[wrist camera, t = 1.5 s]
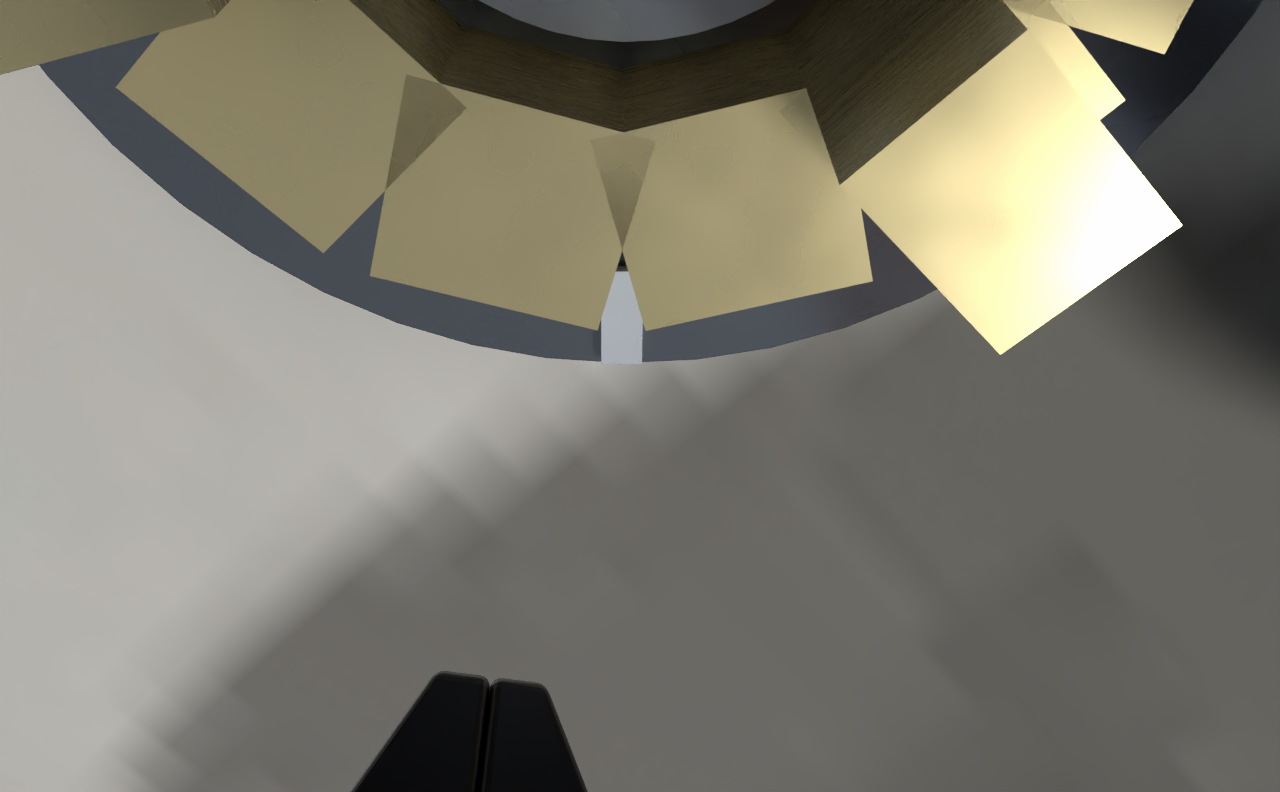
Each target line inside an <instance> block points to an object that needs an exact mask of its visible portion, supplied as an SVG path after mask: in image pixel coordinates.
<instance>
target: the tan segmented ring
mask: <svg viewBox="0 0 1280 792" xmlns="http://www.w3.org/2000/svg"><path fill="white" fill-rule="evenodd" d="M1192 2H1193V0H816V1H814V2H813V3H812V4H811V5H810V6H809V7H808V8H807V9H806V10H805V11H803V12H802V13H801V14H800V15H799V16H798V17H797V18H796V19H795V20H794V21H793V22H791V23H790V24H789V25H788V26H787V27H786V28H784V29H780V30H776V31H772V32H768V33H764V34H760V35H756V36H752V37H748V38H744V39H740V40H736V41H732V42H728V43H724V44H720V45H716V46H712V47H708V48H704V49H700V50H696V51H692V52H688V53H684V54H680V55H676V56H672V57H668V58H664V59H660V60H656V61H652V62H648V63H644V64H640V65H636V66H632V67H628V68H621V67H617V66H614V65H610V64H606V63H603V62H599V61H595V60H592V59H588V58H585V57H581V56H577V55H574V54H570V53H566V52H563V51H559V50H556V49H552V48H548V47H545V46H541V45H538V44H534V43H530V42H527V41H523V40H519V39H516V38H512V37H509V36H505V35H501V34H498V33H494V32H490V31H487V30H483V29H480V28H476V27H472V26H469V25H465V24H463V23H462V22H461V21H460V20H459V19H458V18H456V17H455V16H454V15H453V14H452V13H451V12H450V11H449V10H448V9H447V8H446V7H445V6H444V5H443V4H442V3H441V2H440V1H439V0H0V75H1V74H5V73H9V72H12V71H16V70H20V69H24V68H27V67H31V66H35V65H39V64H42V63H46V62H50V61H54V60H57V59H61V58H65V57H69V56H72V55H76V54H80V53H84V52H87V51H91V50H95V49H98V48H102V47H106V46H110V45H113V44H117V43H121V42H125V41H128V40H132V39H136V38H140V37H143V36H147V35H151V34H155V33H158V32H160V33H159V34H158V36H157V37H156V38H155V39H154V41H153V42H152V43H151V44H150V45H149V47H148V48H147V49H146V50H145V52H144V53H143V54H142V55H141V57H140V58H139V59H138V60H137V62H136V63H135V64H134V65H133V66H132V68H131V69H130V70H129V71H128V73H127V74H126V75H125V76H124V78H123V79H122V80H121V81H120V82H119V84H118V85H117V86H116V88H117V89H118V90H120V91H121V92H122V93H123V94H125V95H126V96H127V97H128V98H130V99H131V100H132V101H133V102H135V103H136V104H137V105H138V106H140V107H141V108H142V109H143V110H145V111H146V112H147V113H148V114H150V115H151V116H152V117H153V118H155V119H156V120H157V121H158V122H160V123H161V124H162V125H163V126H165V127H166V128H167V129H168V130H170V131H171V132H172V133H173V134H175V135H176V136H177V137H178V138H180V139H181V140H182V141H183V142H185V143H186V144H187V145H188V146H190V147H191V148H192V149H193V150H195V151H196V152H197V153H199V154H200V155H201V156H202V157H204V158H205V159H206V160H207V161H209V162H210V163H211V164H212V165H214V166H215V167H216V168H217V169H219V170H220V171H221V172H222V173H224V174H225V175H226V176H227V177H229V178H230V179H231V180H232V181H234V182H235V183H236V184H237V185H239V186H240V187H241V188H242V189H244V190H245V191H246V192H247V193H249V194H250V195H251V196H252V197H254V198H255V199H256V200H257V201H259V202H260V203H261V204H262V205H264V206H265V207H266V208H267V209H269V210H270V211H271V212H272V213H274V214H275V215H276V216H277V217H279V218H280V219H281V220H282V221H284V222H285V223H286V224H287V225H289V226H290V227H291V228H292V229H294V230H295V231H296V232H297V233H299V234H300V235H301V236H302V237H304V238H305V239H306V240H307V241H309V242H310V243H311V244H312V245H314V246H315V247H316V248H318V249H319V250H320V251H321V252H323V253H324V252H325V251H326V250H327V249H328V248H329V247H330V246H331V245H332V244H333V243H334V242H335V241H336V240H337V239H338V238H339V237H340V236H341V235H342V234H343V233H344V232H345V231H346V230H347V229H348V228H349V227H350V226H351V225H352V224H353V223H354V222H355V221H356V220H357V219H358V218H359V217H360V216H361V215H362V214H363V213H364V212H365V211H366V210H367V209H368V208H369V207H370V206H371V205H372V203H373V202H374V201H375V200H376V199H377V198H378V197H379V196H380V195H381V194H382V193H383V192H384V191H385V194H384V200H383V205H382V211H381V216H380V222H379V227H378V233H377V238H376V244H375V250H374V255H373V261H372V266H371V272H370V276H372V277H377V278H381V279H385V280H389V281H393V282H397V283H402V284H406V285H410V286H414V287H418V288H422V289H427V290H431V291H435V292H439V293H443V294H447V295H452V296H456V297H460V298H464V299H468V300H472V301H477V302H481V303H485V304H489V305H493V306H497V307H502V308H506V309H510V310H514V311H518V312H522V313H527V314H531V315H535V316H539V317H543V318H547V319H552V320H556V321H560V322H564V323H568V324H572V325H577V326H581V327H585V328H589V329H593V330H597V331H598V328H599V324H600V321H601V318H602V315H603V311H604V308H605V305H606V302H607V298H608V295H609V292H610V289H611V285H612V282H613V279H614V276H615V272H616V269H617V266H618V263H619V259H620V256H621V253H622V251H623V255H624V258H625V262H626V265H627V268H628V272H629V275H630V279H631V282H632V286H633V289H634V293H635V296H636V299H637V303H638V306H639V310H640V313H641V317H642V320H643V324H644V327H645V330H646V331H648V330H653V329H657V328H662V327H666V326H671V325H675V324H680V323H685V322H689V321H694V320H698V319H703V318H707V317H712V316H716V315H721V314H726V313H730V312H735V311H739V310H744V309H748V308H753V307H758V306H762V305H767V304H771V303H776V302H780V301H785V300H790V299H794V298H799V297H803V296H808V295H812V294H817V293H821V292H826V291H831V290H835V289H840V288H844V287H849V286H853V285H858V284H863V283H867V282H872V281H873V279H872V273H871V267H870V260H869V254H868V248H867V242H866V236H865V230H864V224H863V217H862V211H861V208H862V209H863V211H864V212H865V213H866V214H867V215H868V216H869V217H870V218H871V219H872V220H873V221H874V222H875V223H876V224H877V225H878V226H879V227H880V228H881V229H882V231H883V232H884V233H885V234H886V235H887V236H888V237H889V238H890V239H891V240H892V241H893V242H894V243H895V244H896V245H897V246H898V247H899V248H900V250H901V251H902V252H903V253H904V254H905V255H906V256H907V257H908V258H909V259H910V260H911V261H912V262H913V263H914V264H915V265H916V266H917V267H918V268H919V270H920V271H921V272H922V273H923V274H924V275H925V276H926V277H927V278H928V279H929V280H930V281H931V282H932V283H933V284H934V285H935V286H936V287H937V289H938V290H939V291H940V292H941V293H942V294H943V295H944V296H945V297H946V298H947V299H948V300H949V301H950V302H951V303H952V304H953V305H954V306H955V307H956V309H957V310H958V311H959V312H960V313H961V314H962V315H963V316H964V317H965V318H966V319H967V320H968V321H969V322H970V323H971V324H972V325H973V326H974V328H975V329H976V330H977V331H978V332H979V333H980V334H981V335H982V336H983V337H984V338H985V339H986V340H987V341H988V342H989V343H990V344H991V345H992V347H993V348H994V349H995V350H996V351H997V352H998V353H999V354H1000V355H1001V354H1002V353H1004V352H1005V351H1007V350H1008V349H1009V348H1011V347H1012V346H1014V345H1015V344H1016V343H1018V342H1019V341H1021V340H1022V339H1023V338H1025V337H1026V336H1028V335H1029V334H1030V333H1032V332H1033V331H1035V330H1036V329H1038V328H1039V327H1040V326H1042V325H1043V324H1045V323H1046V322H1047V321H1049V320H1050V319H1052V318H1053V317H1054V316H1056V315H1057V314H1059V313H1060V312H1061V311H1063V310H1064V309H1066V308H1067V307H1068V306H1070V305H1071V304H1073V303H1074V302H1075V301H1077V300H1078V299H1080V298H1081V297H1082V296H1084V295H1085V294H1087V293H1088V292H1090V291H1091V290H1092V289H1094V288H1095V287H1097V286H1098V285H1099V284H1101V283H1102V282H1104V281H1105V280H1106V279H1108V278H1109V277H1111V276H1112V275H1113V274H1115V273H1116V272H1118V271H1119V270H1120V269H1122V268H1123V267H1125V266H1126V265H1127V264H1129V263H1130V262H1132V261H1133V260H1134V259H1136V258H1137V257H1139V256H1140V255H1142V254H1143V253H1144V252H1146V251H1147V250H1149V249H1150V248H1151V247H1153V246H1154V245H1156V244H1157V243H1158V242H1160V241H1161V240H1163V239H1164V238H1165V237H1167V236H1168V235H1170V234H1171V233H1172V232H1174V231H1175V230H1177V229H1178V228H1179V227H1181V226H1182V224H1181V222H1180V221H1179V220H1178V219H1177V217H1176V216H1175V215H1174V214H1173V212H1172V211H1171V210H1170V209H1169V207H1168V206H1167V205H1166V203H1165V202H1164V201H1163V200H1162V198H1161V197H1160V196H1159V195H1158V193H1157V192H1156V191H1155V190H1154V188H1153V187H1152V186H1151V185H1150V183H1149V182H1148V181H1147V179H1146V178H1145V177H1144V176H1143V174H1142V173H1141V172H1140V171H1139V169H1138V168H1137V167H1136V166H1135V164H1134V163H1133V162H1132V160H1131V159H1130V158H1129V157H1128V155H1127V154H1126V153H1125V152H1124V150H1123V149H1122V148H1121V147H1120V145H1119V144H1118V143H1117V142H1116V140H1115V139H1114V138H1113V136H1112V135H1111V134H1110V133H1109V131H1108V130H1107V129H1106V128H1105V126H1104V125H1103V124H1102V123H1101V121H1100V120H1101V119H1102V118H1103V117H1104V116H1106V115H1107V114H1108V113H1110V112H1111V111H1112V110H1114V109H1115V108H1116V107H1117V106H1119V105H1120V104H1121V103H1123V102H1124V101H1125V99H1124V97H1123V96H1122V95H1121V93H1120V92H1119V91H1118V90H1117V88H1116V87H1115V86H1114V84H1113V83H1112V82H1111V80H1110V79H1109V78H1108V77H1107V75H1106V74H1105V73H1104V71H1103V70H1102V69H1101V67H1100V66H1099V65H1098V64H1097V62H1096V61H1095V60H1094V58H1093V57H1092V56H1091V54H1090V53H1089V52H1088V51H1087V49H1086V48H1085V47H1084V45H1083V44H1082V43H1081V41H1080V40H1079V39H1078V38H1077V36H1076V35H1075V34H1074V32H1073V31H1072V30H1071V29H1070V27H1069V26H1072V27H1075V28H1078V29H1082V30H1085V31H1088V32H1092V33H1095V34H1098V35H1102V36H1105V37H1108V38H1112V39H1115V40H1118V41H1122V42H1125V43H1128V44H1132V45H1135V46H1138V47H1142V48H1145V49H1148V50H1152V51H1155V52H1158V53H1162V54H1165V53H1166V51H1167V49H1168V47H1169V45H1170V43H1171V41H1172V39H1173V38H1174V36H1175V34H1176V32H1177V30H1178V28H1179V26H1180V24H1181V23H1182V21H1183V19H1184V17H1185V15H1186V13H1187V11H1188V9H1189V8H1190V6H1191V4H1192Z"/></svg>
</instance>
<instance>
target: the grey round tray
mask: <svg viewBox="0 0 1280 792" xmlns="http://www.w3.org/2000/svg"><path fill="white" fill-rule="evenodd" d="M439 1H440V2H441V3H442V4H443V5H444V6H445V7H446V8H447V9H448V10H449V11H450V12H451V13H452V14H453V15H454V16H455V17H456V18H458V19H459V20H460V21H461V22H462V23H463V24H465V25H469V26H472V27H476V28H480V29H483V30H487V31H490V32H494V33H498V34H501V35H505V36H509V37H512V38H516V39H519V40H523V41H527V42H530V43H534V44H538V45H541V46H545V47H548V48H552V49H556V50H559V51H563V52H566V53H570V54H574V55H577V56H581V57H585V58H588V59H592V60H595V61H599V62H603V63H606V64H610V65H614V66H617V67H621V68H628V67H632V66H636V65H640V64H644V63H648V62H652V61H656V60H660V59H664V58H668V57H672V56H676V55H680V54H684V53H688V52H692V51H696V50H700V49H704V48H708V47H712V46H716V45H720V44H724V43H728V42H732V41H736V40H740V39H744V38H748V37H752V36H756V35H760V34H764V33H768V32H772V31H776V30H780V29H784V28H786V27H787V26H788V25H789V24H790V23H791V22H793V21H794V20H795V19H796V18H797V17H798V16H799V15H800V14H801V13H802V12H803V11H805V10H806V9H807V8H808V7H809V6H810V5H811V4H812V3H813V2H814V1H816V0H439ZM1261 2H1262V0H1193V2H1192V4H1191V6H1190V8H1189V9H1188V11H1187V13H1186V15H1185V17H1184V19H1183V21H1182V23H1181V24H1180V26H1179V28H1178V30H1177V32H1176V34H1175V36H1174V38H1173V39H1172V41H1171V43H1170V45H1169V47H1168V49H1167V51H1166V53H1165V54H1162V53H1158V52H1155V51H1152V50H1148V49H1145V48H1142V47H1138V46H1135V45H1132V44H1128V43H1125V42H1122V41H1118V40H1115V39H1112V38H1108V37H1105V36H1102V35H1098V34H1095V33H1092V32H1088V31H1085V30H1082V29H1078V28H1075V27H1072V26H1069V27H1070V29H1071V30H1072V31H1073V32H1074V34H1075V35H1076V36H1077V38H1078V39H1079V40H1080V41H1081V43H1082V44H1083V45H1084V47H1085V48H1086V49H1087V51H1088V52H1089V53H1090V54H1091V56H1092V57H1093V58H1094V60H1095V61H1096V62H1097V64H1098V65H1099V66H1100V67H1101V69H1102V70H1103V71H1104V73H1105V74H1106V75H1107V77H1108V78H1109V79H1110V80H1111V82H1112V83H1113V84H1114V86H1115V87H1116V88H1117V90H1118V91H1119V92H1120V93H1121V95H1122V96H1123V97H1124V99H1125V101H1124V102H1123V103H1121V104H1120V105H1119V106H1117V107H1116V108H1115V109H1114V110H1112V111H1111V112H1110V113H1108V114H1107V115H1106V116H1104V117H1103V118H1102V119H1101V120H1100V121H1101V123H1102V124H1103V125H1104V126H1105V128H1106V129H1107V130H1108V131H1109V133H1110V134H1111V135H1112V136H1113V138H1114V139H1115V140H1116V142H1117V143H1118V144H1119V145H1120V147H1121V148H1122V149H1123V150H1124V152H1125V153H1126V154H1127V155H1128V157H1129V156H1130V155H1131V154H1132V153H1133V152H1134V151H1135V150H1136V149H1137V148H1138V147H1139V146H1140V145H1141V144H1142V143H1143V142H1144V141H1145V140H1146V139H1147V138H1148V137H1149V136H1150V135H1151V134H1152V132H1153V131H1154V130H1155V129H1156V128H1157V127H1158V126H1159V125H1160V124H1161V123H1162V122H1163V121H1164V120H1165V119H1166V118H1167V117H1168V116H1169V115H1170V114H1171V113H1172V112H1173V111H1174V110H1175V109H1176V108H1177V107H1178V106H1179V105H1180V104H1181V103H1182V102H1183V101H1184V100H1185V99H1186V98H1187V97H1188V95H1189V94H1190V93H1191V92H1192V91H1193V90H1194V89H1195V88H1196V86H1197V85H1198V84H1199V83H1200V81H1201V80H1202V79H1203V77H1204V76H1205V75H1206V74H1207V72H1208V71H1209V70H1210V69H1211V67H1212V66H1213V65H1214V64H1215V62H1216V61H1217V60H1218V58H1219V57H1220V56H1221V55H1222V53H1223V52H1224V51H1225V50H1226V48H1227V47H1228V46H1229V45H1230V43H1231V42H1232V41H1233V39H1234V38H1235V37H1236V36H1237V34H1238V33H1239V32H1240V31H1241V29H1242V28H1243V27H1244V26H1245V24H1246V23H1247V22H1248V20H1249V19H1250V18H1251V17H1252V15H1253V14H1254V13H1255V11H1256V9H1257V8H1258V6H1259V5H1260V3H1261ZM159 33H160V32H158V33H155V34H151V35H147V36H143V37H140V38H136V39H132V40H128V41H125V42H121V43H117V44H113V45H110V46H106V47H102V48H98V49H95V50H91V51H87V52H84V53H80V54H76V55H72V56H69V57H65V58H61V59H57V60H54V61H50V62H46V63H42V64H39V65H40V67H41V68H42V69H43V71H44V72H45V73H46V75H47V76H48V77H49V78H50V79H51V80H52V81H53V82H54V83H55V84H56V86H57V87H58V88H59V89H60V90H61V91H62V92H63V93H64V94H65V95H66V96H67V97H68V98H69V99H70V100H71V101H72V102H73V103H74V105H75V106H76V107H77V108H78V109H79V110H80V111H81V112H82V113H83V114H84V115H85V116H86V117H87V118H88V119H89V120H90V121H91V123H92V124H93V125H94V126H95V127H96V128H97V129H98V130H99V131H100V132H101V133H102V134H103V135H104V136H105V137H106V138H107V139H108V141H109V142H110V143H111V144H112V145H113V146H114V147H116V148H117V149H118V150H119V151H120V152H121V153H123V154H124V155H125V156H126V157H127V158H128V159H129V160H131V161H132V162H133V163H134V164H135V165H136V166H138V167H139V168H140V169H141V170H142V171H143V172H145V173H146V174H147V175H148V176H149V177H150V178H152V179H153V180H154V181H155V182H156V183H157V184H159V185H160V186H161V187H162V188H163V189H164V190H166V191H167V192H168V193H169V194H170V195H171V196H172V197H174V198H175V199H176V200H177V201H178V202H179V203H181V204H182V205H183V206H185V207H186V208H188V209H189V210H191V211H192V212H193V213H195V214H196V215H198V216H199V217H201V218H202V219H204V220H205V221H206V222H208V223H209V224H211V225H212V226H214V227H215V228H217V229H218V230H219V231H221V232H222V233H224V234H225V235H227V236H228V237H229V238H231V239H232V240H234V241H235V242H237V243H238V244H240V245H241V246H242V247H244V248H245V249H247V250H248V251H250V252H251V253H253V254H255V255H256V256H258V257H260V258H262V259H264V260H266V261H267V262H269V263H271V264H273V265H275V266H277V267H278V268H280V269H282V270H284V271H286V272H288V273H289V274H291V275H293V276H295V277H297V278H298V279H300V280H302V281H304V282H306V283H308V284H309V285H311V286H313V287H315V288H317V289H319V290H320V291H322V292H324V293H327V294H329V295H331V296H334V297H336V298H339V299H341V300H343V301H346V302H348V303H351V304H353V305H355V306H358V307H360V308H363V309H365V310H368V311H370V312H372V313H375V314H377V315H380V316H382V317H384V318H387V319H389V320H392V321H394V322H396V323H399V324H403V325H406V326H410V327H413V328H416V329H420V330H423V331H427V332H430V333H434V334H437V335H440V336H444V337H447V338H451V339H454V340H457V341H461V342H464V343H468V344H471V345H476V346H482V347H488V348H493V349H499V350H505V351H510V352H516V353H521V354H527V355H533V356H538V357H544V358H555V359H570V360H586V361H601V364H642V362H651V361H673V360H695V359H703V358H709V357H715V356H722V355H728V354H734V353H741V352H747V351H753V350H760V349H766V348H772V347H776V346H779V345H783V344H787V343H790V342H794V341H798V340H801V339H805V338H809V337H812V336H816V335H820V334H823V333H827V332H831V331H834V330H838V329H842V328H845V327H848V326H850V325H853V324H856V323H858V322H861V321H863V320H866V319H868V318H871V317H873V316H876V315H878V314H881V313H883V312H886V311H889V310H891V309H894V308H896V307H899V306H901V305H904V304H906V303H909V302H911V301H914V300H916V299H919V298H921V297H923V296H925V295H927V294H928V293H930V292H932V291H934V290H936V289H937V287H936V286H935V285H934V284H933V283H932V282H931V281H930V280H929V279H928V278H927V277H926V276H925V275H924V274H923V273H922V272H921V271H920V270H919V268H918V267H917V266H916V265H915V264H914V263H913V262H912V261H911V260H910V259H909V258H908V257H907V256H906V255H905V254H904V253H903V252H902V251H901V250H900V248H899V247H898V246H897V245H896V244H895V243H894V242H893V241H892V240H891V239H890V238H889V237H888V236H887V235H886V234H885V233H884V232H883V231H882V229H881V228H880V227H879V226H878V225H877V224H876V223H875V222H874V221H873V220H872V219H871V218H870V217H869V216H868V215H867V214H866V213H865V212H864V211H863V209H862V208H861V211H862V217H863V224H864V230H865V236H866V242H867V248H868V254H869V260H870V267H871V273H872V279H873V281H872V282H867V283H863V284H858V285H853V286H849V287H844V288H840V289H835V290H831V291H826V292H821V293H817V294H812V295H808V296H803V297H799V298H794V299H790V300H785V301H780V302H776V303H771V304H767V305H762V306H758V307H753V308H748V309H744V310H739V311H735V312H730V313H726V314H721V315H716V316H712V317H707V318H703V319H698V320H694V321H689V322H685V323H680V324H675V325H671V326H666V327H662V328H657V329H653V330H648V331H646V330H645V327H644V324H643V320H642V317H641V313H640V310H639V306H638V303H637V299H636V296H635V293H634V289H633V286H632V282H631V279H630V275H629V272H628V268H627V265H626V262H625V258H624V255H623V251H622V253H621V256H620V259H619V263H618V266H617V269H616V272H615V276H614V279H613V282H612V285H611V289H610V292H609V295H608V298H607V302H606V305H605V308H604V311H603V315H602V318H601V321H600V324H599V328H598V331H597V330H593V329H589V328H585V327H581V326H577V325H572V324H568V323H564V322H560V321H556V320H552V319H547V318H543V317H539V316H535V315H531V314H527V313H522V312H518V311H514V310H510V309H506V308H502V307H497V306H493V305H489V304H485V303H481V302H477V301H472V300H468V299H464V298H460V297H456V296H452V295H447V294H443V293H439V292H435V291H431V290H427V289H422V288H418V287H414V286H410V285H406V284H402V283H397V282H393V281H389V280H385V279H381V278H377V277H372V276H370V272H371V266H372V261H373V255H374V250H375V244H376V238H377V233H378V227H379V222H380V216H381V211H382V205H383V200H384V194H385V191H384V192H383V193H382V194H381V195H380V196H379V197H378V198H377V199H376V200H375V201H374V202H373V203H372V205H371V206H370V207H369V208H368V209H367V210H366V211H365V212H364V213H363V214H362V215H361V216H360V217H359V218H358V219H357V220H356V221H355V222H354V223H353V224H352V225H351V226H350V227H349V228H348V229H347V230H346V231H345V232H344V233H343V234H342V235H341V236H340V237H339V238H338V239H337V240H336V241H335V242H334V243H333V244H332V245H331V246H330V247H329V248H328V249H327V250H326V251H325V252H324V253H323V252H321V251H320V250H319V249H318V248H316V247H315V246H314V245H312V244H311V243H310V242H309V241H307V240H306V239H305V238H304V237H302V236H301V235H300V234H299V233H297V232H296V231H295V230H294V229H292V228H291V227H290V226H289V225H287V224H286V223H285V222H284V221H282V220H281V219H280V218H279V217H277V216H276V215H275V214H274V213H272V212H271V211H270V210H269V209H267V208H266V207H265V206H264V205H262V204H261V203H260V202H259V201H257V200H256V199H255V198H254V197H252V196H251V195H250V194H249V193H247V192H246V191H245V190H244V189H242V188H241V187H240V186H239V185H237V184H236V183H235V182H234V181H232V180H231V179H230V178H229V177H227V176H226V175H225V174H224V173H222V172H221V171H220V170H219V169H217V168H216V167H215V166H214V165H212V164H211V163H210V162H209V161H207V160H206V159H205V158H204V157H202V156H201V155H200V154H199V153H197V152H196V151H195V150H193V149H192V148H191V147H190V146H188V145H187V144H186V143H185V142H183V141H182V140H181V139H180V138H178V137H177V136H176V135H175V134H173V133H172V132H171V131H170V130H168V129H167V128H166V127H165V126H163V125H162V124H161V123H160V122H158V121H157V120H156V119H155V118H153V117H152V116H151V115H150V114H148V113H147V112H146V111H145V110H143V109H142V108H141V107H140V106H138V105H137V104H136V103H135V102H133V101H132V100H131V99H130V98H128V97H127V96H126V95H125V94H123V93H122V92H121V91H120V90H118V89H117V88H116V86H117V85H118V84H119V82H120V81H121V80H122V79H123V78H124V76H125V75H126V74H127V73H128V71H129V70H130V69H131V68H132V66H133V65H134V64H135V63H136V62H137V60H138V59H139V58H140V57H141V55H142V54H143V53H144V52H145V50H146V49H147V48H148V47H149V45H150V44H151V43H152V42H153V41H154V39H155V38H156V37H157V36H158V34H159Z"/></svg>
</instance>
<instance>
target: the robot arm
mask: <svg viewBox="0 0 1280 792" xmlns="http://www.w3.org/2000/svg"><path fill="white" fill-rule="evenodd" d="M489 688H490V690H489ZM350 792H588V791H587V789H586V786H585V784H584V781H583V779H582V776H581V773H580V771H579V768H578V766H577V763H576V761H575V758H574V755H573V753H572V750H571V748H570V745H569V743H568V740H567V738H566V735H565V732H564V730H563V727H562V725H561V722H560V720H559V717H558V714H557V712H556V709H555V707H554V704H553V702H552V699H551V697H550V694H549V692H548V691H547V689H546V688H545V687H544V686H543V685H542V684H539V683H535V682H527V681H519V680H511V679H504V678H500V679H497V680H494V681H493V683H492V684H491V686H490V685H489V682H488V680H487V679H486V678H485V677H483V676H480V675H472V674H465V673H457V672H449V671H440V672H438V673H436V674H435V675H434V676H433V677H432V678H431V679H430V680H429V682H428V683H427V684H426V686H425V687H424V689H423V690H422V691H421V693H420V694H419V696H418V697H417V699H416V700H415V701H414V703H413V704H412V706H411V707H410V708H409V710H408V711H407V713H406V714H405V715H404V717H403V718H402V720H401V721H400V722H399V724H398V725H397V727H396V728H395V730H394V731H393V732H392V734H391V735H390V737H389V738H388V739H387V741H386V742H385V744H384V745H383V746H382V748H381V749H380V751H379V752H378V753H377V755H376V756H375V758H374V759H373V760H372V762H371V763H370V765H369V766H368V768H367V769H366V770H365V772H364V773H363V775H362V776H361V777H360V779H359V780H358V782H357V783H356V784H355V786H354V787H353V789H352V790H351V791H350Z"/></svg>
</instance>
